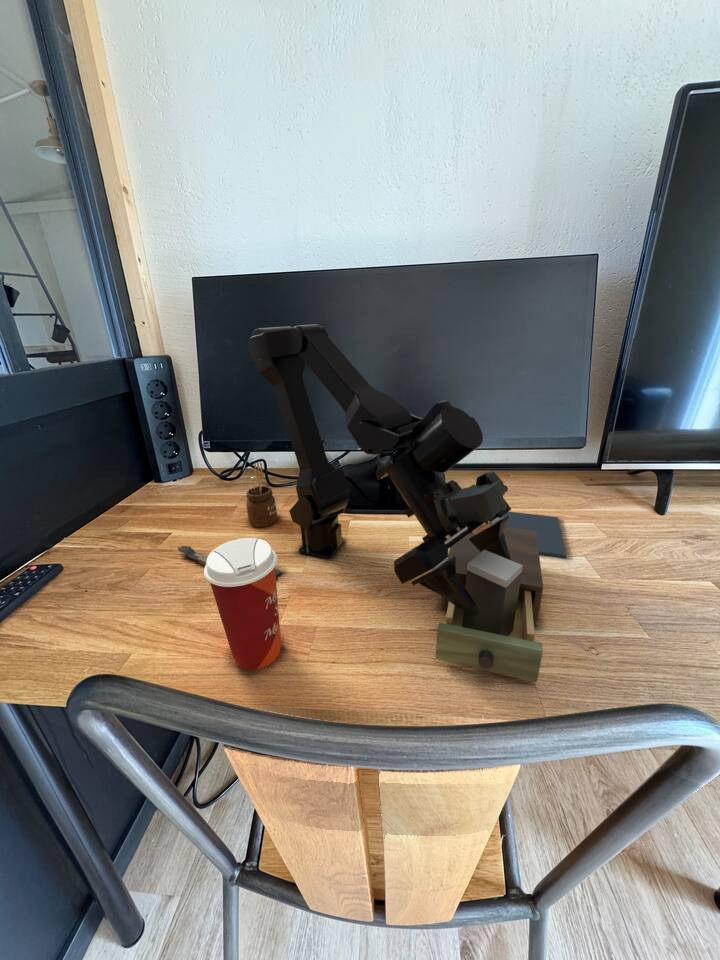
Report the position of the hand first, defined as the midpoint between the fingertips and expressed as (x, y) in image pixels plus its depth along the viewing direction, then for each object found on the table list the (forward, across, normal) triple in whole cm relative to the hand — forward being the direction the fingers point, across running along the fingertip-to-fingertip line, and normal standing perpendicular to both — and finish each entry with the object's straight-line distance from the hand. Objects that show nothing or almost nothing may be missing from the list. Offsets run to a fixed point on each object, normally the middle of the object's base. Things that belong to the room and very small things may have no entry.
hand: (495, 595), depth 49 cm
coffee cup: (-10, -22, +20) cm, 31 cm away
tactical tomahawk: (-24, -15, +35) cm, 45 cm away
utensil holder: (-31, -2, +41) cm, 52 cm away
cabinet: (+1, +11, +10) cm, 14 cm away
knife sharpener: (+4, 0, +4) cm, 6 cm away
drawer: (+4, 0, +5) cm, 7 cm away
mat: (-3, +28, +14) cm, 31 cm away
